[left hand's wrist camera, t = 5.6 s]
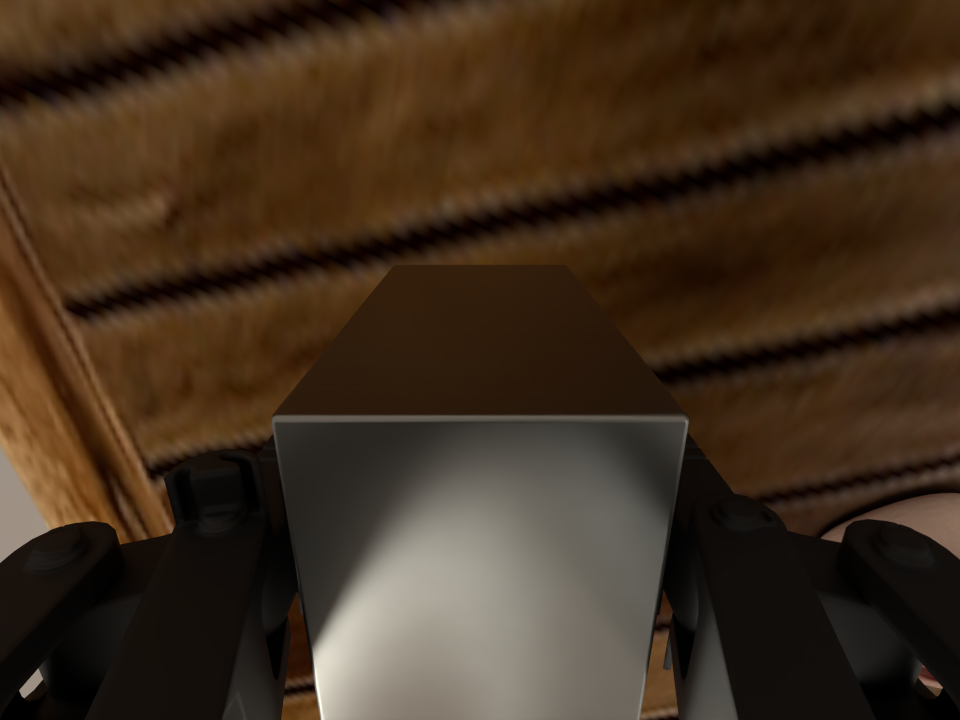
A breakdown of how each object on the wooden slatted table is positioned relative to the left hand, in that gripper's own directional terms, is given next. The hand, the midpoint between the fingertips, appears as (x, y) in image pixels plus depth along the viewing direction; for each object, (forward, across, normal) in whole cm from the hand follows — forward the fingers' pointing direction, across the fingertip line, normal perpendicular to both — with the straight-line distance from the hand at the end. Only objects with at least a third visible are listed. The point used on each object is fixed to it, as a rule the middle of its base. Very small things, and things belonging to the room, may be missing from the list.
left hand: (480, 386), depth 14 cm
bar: (+1, 0, -9) cm, 9 cm away
